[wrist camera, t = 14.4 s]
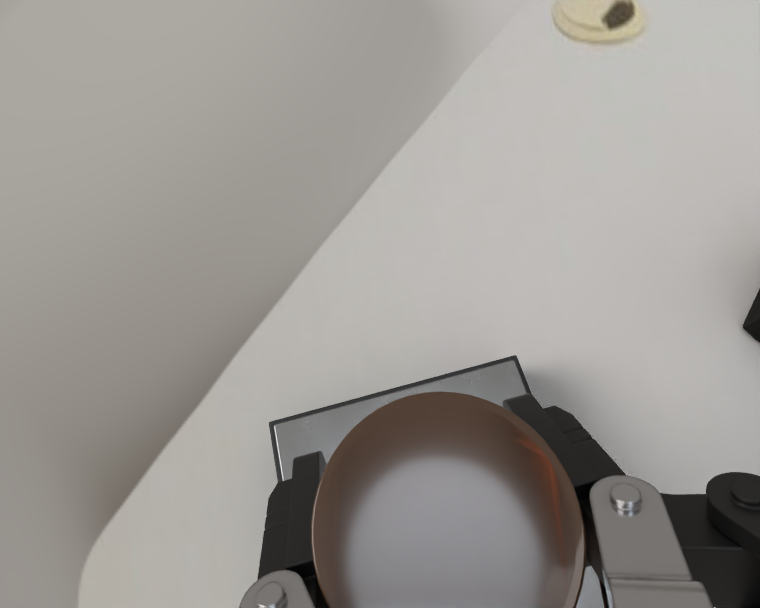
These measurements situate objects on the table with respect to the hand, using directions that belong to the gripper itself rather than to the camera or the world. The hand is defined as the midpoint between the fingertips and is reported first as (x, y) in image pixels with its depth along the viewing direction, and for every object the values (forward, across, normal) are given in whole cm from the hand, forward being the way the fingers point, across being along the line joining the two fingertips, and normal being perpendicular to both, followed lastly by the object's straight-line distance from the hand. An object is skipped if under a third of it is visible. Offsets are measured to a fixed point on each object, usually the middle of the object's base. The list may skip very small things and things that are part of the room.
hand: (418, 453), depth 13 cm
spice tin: (+2, 0, +4) cm, 5 cm away
